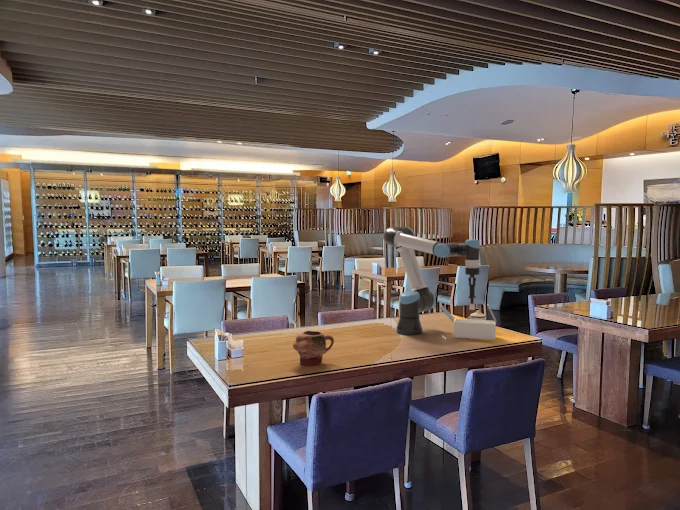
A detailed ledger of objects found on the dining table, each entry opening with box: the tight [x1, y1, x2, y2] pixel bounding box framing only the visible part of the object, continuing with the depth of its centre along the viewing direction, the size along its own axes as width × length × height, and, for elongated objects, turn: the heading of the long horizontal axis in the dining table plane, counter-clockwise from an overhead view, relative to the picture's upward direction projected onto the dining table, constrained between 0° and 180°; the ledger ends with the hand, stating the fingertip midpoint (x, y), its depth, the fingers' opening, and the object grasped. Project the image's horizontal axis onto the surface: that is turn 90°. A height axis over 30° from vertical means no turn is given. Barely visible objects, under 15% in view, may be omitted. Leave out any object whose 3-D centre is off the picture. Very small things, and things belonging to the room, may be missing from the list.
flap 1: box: [439, 305, 456, 322], centre depth 271 cm, size 10×9×1 cm
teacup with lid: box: [466, 310, 487, 320], centre depth 287 cm, size 12×9×12 cm
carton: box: [453, 318, 497, 341], centre depth 267 cm, size 22×9×9 cm, turn 73°
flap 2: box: [487, 303, 497, 324], centre depth 264 cm, size 10×9×1 cm
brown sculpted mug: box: [292, 330, 335, 366], centre depth 220 cm, size 20×12×14 cm, turn 121°
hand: (472, 309), depth 267 cm, fingers closed
